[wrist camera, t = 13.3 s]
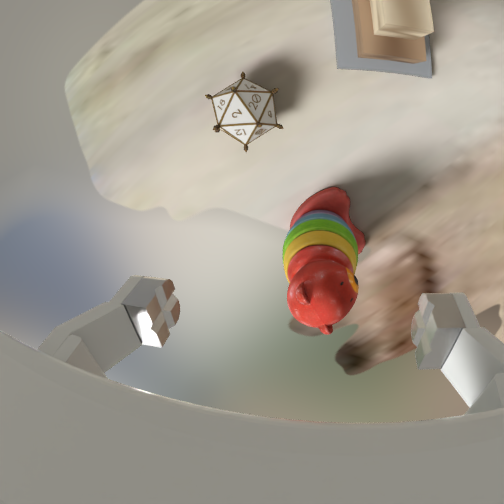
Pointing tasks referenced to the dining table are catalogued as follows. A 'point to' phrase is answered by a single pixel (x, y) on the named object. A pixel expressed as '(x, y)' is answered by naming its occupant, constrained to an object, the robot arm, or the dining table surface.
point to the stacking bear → (322, 260)
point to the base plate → (350, 60)
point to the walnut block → (383, 40)
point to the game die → (245, 110)
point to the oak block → (402, 18)
